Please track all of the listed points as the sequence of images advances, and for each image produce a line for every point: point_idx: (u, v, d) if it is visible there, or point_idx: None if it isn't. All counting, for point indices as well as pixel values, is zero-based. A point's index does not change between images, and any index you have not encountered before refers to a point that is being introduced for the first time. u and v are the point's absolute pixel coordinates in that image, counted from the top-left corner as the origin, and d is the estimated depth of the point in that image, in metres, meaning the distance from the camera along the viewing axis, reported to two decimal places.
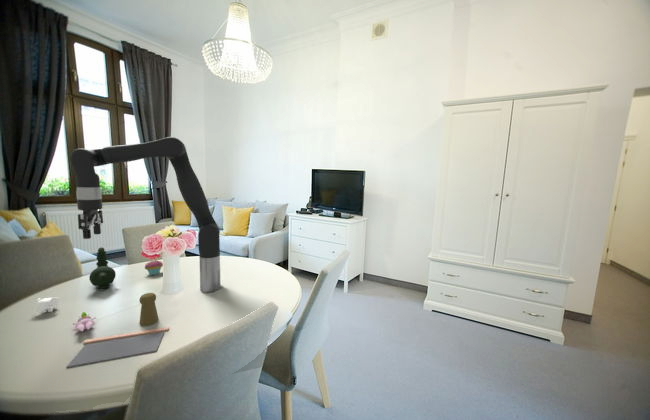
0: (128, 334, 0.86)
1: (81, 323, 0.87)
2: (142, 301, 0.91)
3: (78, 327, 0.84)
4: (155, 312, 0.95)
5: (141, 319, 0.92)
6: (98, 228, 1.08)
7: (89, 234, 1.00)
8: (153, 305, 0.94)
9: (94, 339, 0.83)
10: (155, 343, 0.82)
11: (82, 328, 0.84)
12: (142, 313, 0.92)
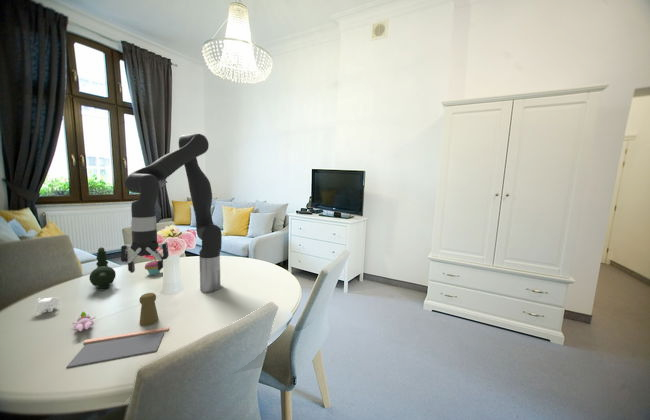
0: (128, 334, 0.86)
1: (80, 323, 0.87)
2: (142, 301, 0.91)
3: (77, 327, 0.84)
4: (155, 312, 0.95)
5: (141, 319, 0.92)
6: (134, 264, 0.91)
7: None
8: (153, 305, 0.94)
9: (94, 339, 0.83)
10: (155, 343, 0.82)
11: (80, 328, 0.84)
12: (142, 313, 0.92)
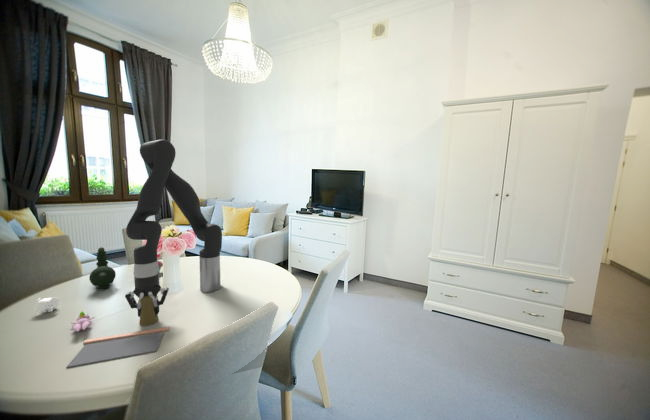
0: (128, 334, 0.86)
1: (78, 323, 0.87)
2: (142, 301, 0.91)
3: (74, 327, 0.84)
4: None
5: (141, 319, 0.92)
6: None
7: None
8: (153, 305, 0.94)
9: (94, 339, 0.83)
10: (155, 343, 0.82)
11: (78, 328, 0.84)
12: (142, 313, 0.92)
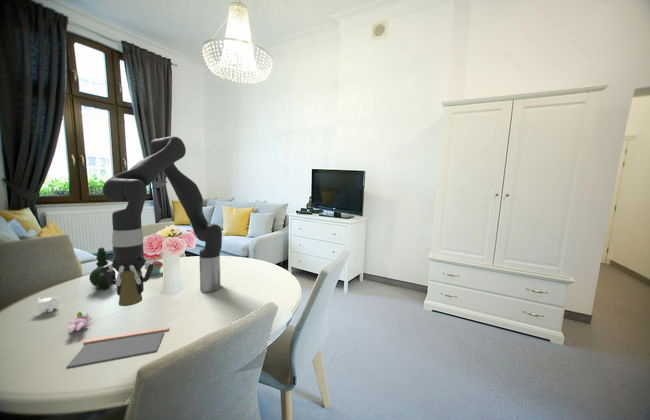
0: (128, 334, 0.86)
1: (73, 323, 0.86)
2: (122, 276, 0.76)
3: (69, 327, 0.84)
4: None
5: (121, 298, 0.77)
6: None
7: None
8: (136, 282, 0.79)
9: (94, 339, 0.83)
10: (155, 343, 0.82)
11: (72, 329, 0.84)
12: (122, 291, 0.77)
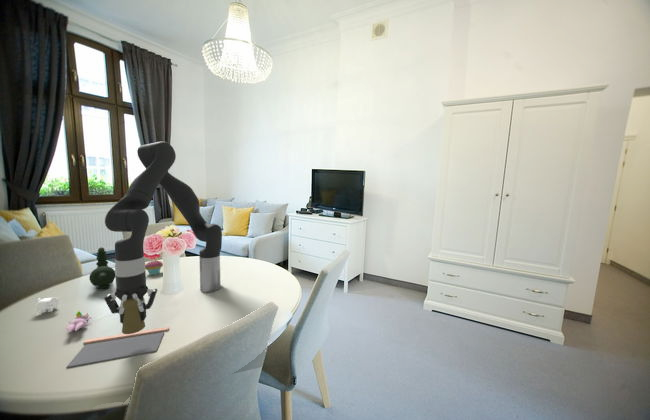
0: (128, 334, 0.86)
1: (72, 323, 0.86)
2: (125, 305, 0.77)
3: (67, 327, 0.84)
4: None
5: (124, 326, 0.78)
6: None
7: None
8: (138, 309, 0.79)
9: (94, 339, 0.83)
10: (155, 343, 0.82)
11: (70, 329, 0.84)
12: (125, 319, 0.77)
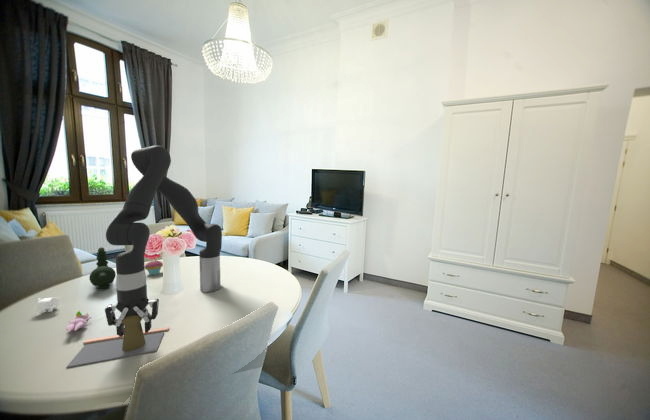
0: None
1: (72, 323, 0.87)
2: (125, 322, 0.77)
3: (67, 327, 0.84)
4: (141, 334, 0.81)
5: (124, 343, 0.78)
6: (123, 326, 0.80)
7: None
8: (139, 326, 0.80)
9: (94, 339, 0.83)
10: (155, 343, 0.82)
11: (70, 329, 0.84)
12: (126, 337, 0.78)
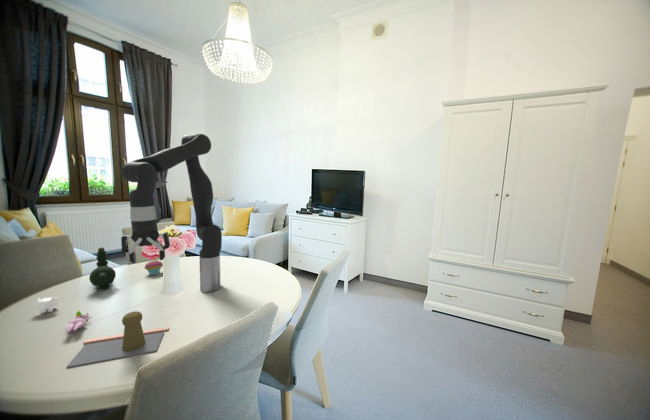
0: None
1: (72, 323, 0.87)
2: (125, 322, 0.77)
3: (66, 327, 0.84)
4: (141, 334, 0.81)
5: (124, 343, 0.78)
6: (135, 255, 0.90)
7: None
8: (139, 326, 0.80)
9: (94, 339, 0.83)
10: (155, 343, 0.82)
11: (69, 328, 0.84)
12: (126, 337, 0.78)
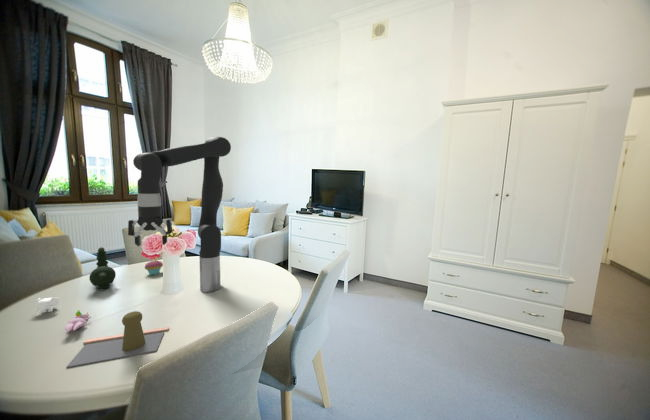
0: None
1: (71, 322, 0.87)
2: (125, 322, 0.77)
3: (66, 327, 0.84)
4: (141, 334, 0.81)
5: (124, 343, 0.78)
6: (140, 238, 0.98)
7: None
8: (139, 326, 0.80)
9: (94, 339, 0.83)
10: (155, 343, 0.82)
11: (69, 328, 0.84)
12: (126, 337, 0.78)
